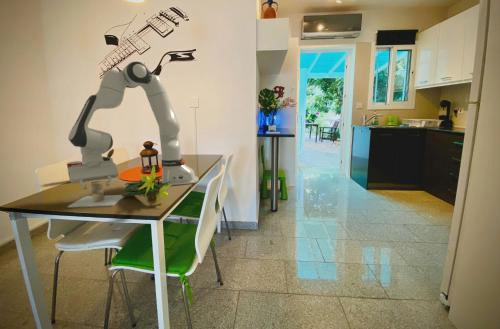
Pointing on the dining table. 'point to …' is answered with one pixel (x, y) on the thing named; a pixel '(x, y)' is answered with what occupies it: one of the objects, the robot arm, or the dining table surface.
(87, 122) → the robot arm
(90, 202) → the grey-blue mat
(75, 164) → the canned food
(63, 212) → the dining table surface
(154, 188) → the daffodil flowers
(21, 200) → the dining table surface
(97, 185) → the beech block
